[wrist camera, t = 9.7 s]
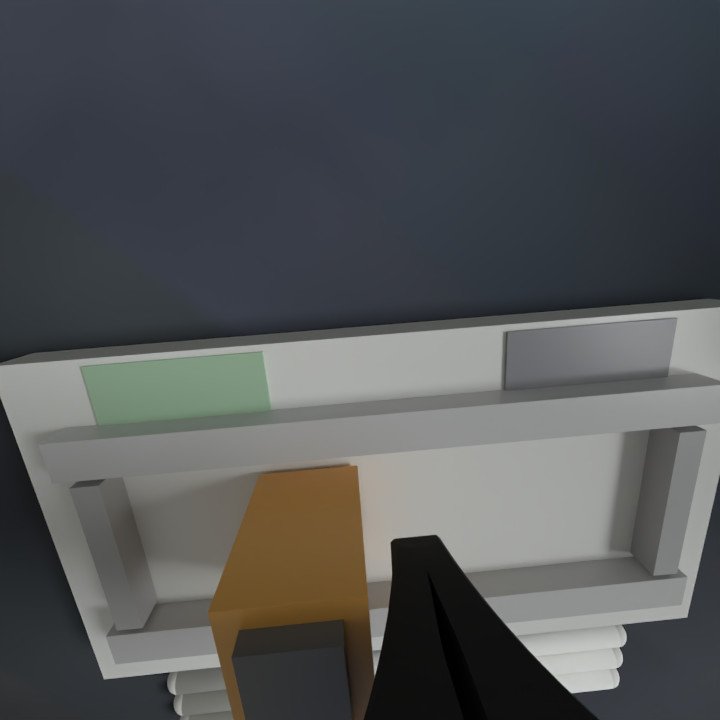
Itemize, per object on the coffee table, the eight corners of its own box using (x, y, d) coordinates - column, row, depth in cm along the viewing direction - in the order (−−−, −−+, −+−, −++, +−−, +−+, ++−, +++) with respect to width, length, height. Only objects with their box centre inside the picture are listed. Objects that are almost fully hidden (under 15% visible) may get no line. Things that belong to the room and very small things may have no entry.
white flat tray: (654, 583, 15) (712, 643, 13) (127, 637, 15) (85, 711, 12) (708, 298, 12) (800, 308, 10) (33, 353, 11) (-49, 378, 9)
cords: (616, 611, 16) (634, 634, 15) (607, 668, 17) (623, 693, 16) (171, 657, 15) (160, 685, 14) (187, 714, 16) (178, 743, 15)
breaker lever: (366, 569, 12) (382, 769, 7) (277, 578, 12) (235, 786, 7) (357, 465, 11) (369, 621, 6) (259, 474, 11) (197, 640, 6)
